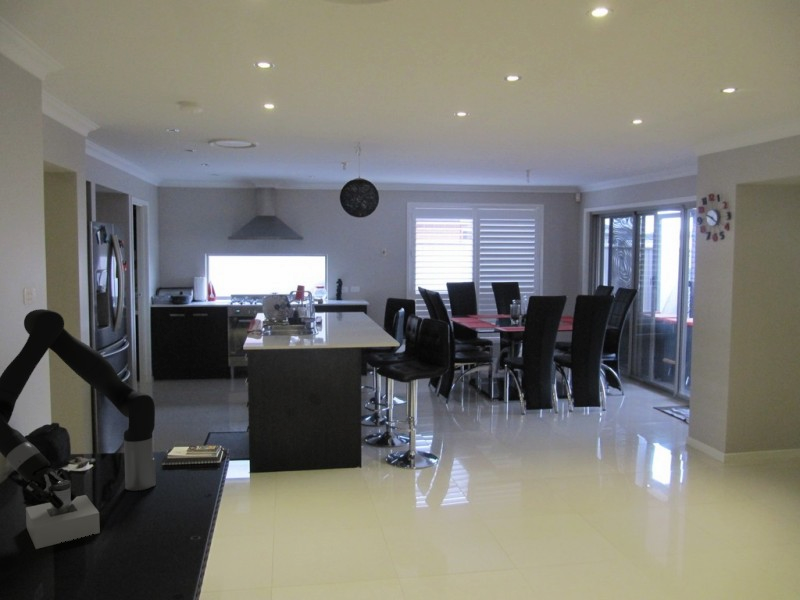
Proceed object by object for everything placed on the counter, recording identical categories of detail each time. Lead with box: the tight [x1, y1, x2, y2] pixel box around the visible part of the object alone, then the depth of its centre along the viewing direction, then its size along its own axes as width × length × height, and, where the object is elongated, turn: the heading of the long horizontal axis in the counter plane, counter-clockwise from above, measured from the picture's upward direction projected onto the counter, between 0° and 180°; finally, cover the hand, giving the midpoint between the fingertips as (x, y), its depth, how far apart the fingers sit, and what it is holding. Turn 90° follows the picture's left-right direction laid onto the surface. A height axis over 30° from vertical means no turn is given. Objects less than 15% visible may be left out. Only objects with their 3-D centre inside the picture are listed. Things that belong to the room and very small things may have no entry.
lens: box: [51, 479, 72, 516], centre depth 177 cm, size 5×5×10 cm
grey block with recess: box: [25, 494, 101, 550], centre depth 177 cm, size 16×18×6 cm
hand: (67, 502), depth 177 cm, fingers closed on lens, 5 cm apart
